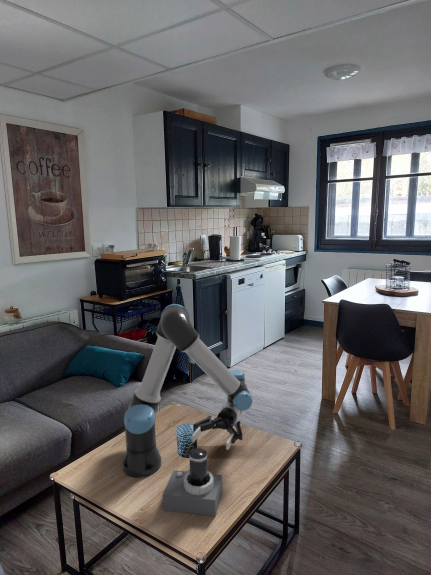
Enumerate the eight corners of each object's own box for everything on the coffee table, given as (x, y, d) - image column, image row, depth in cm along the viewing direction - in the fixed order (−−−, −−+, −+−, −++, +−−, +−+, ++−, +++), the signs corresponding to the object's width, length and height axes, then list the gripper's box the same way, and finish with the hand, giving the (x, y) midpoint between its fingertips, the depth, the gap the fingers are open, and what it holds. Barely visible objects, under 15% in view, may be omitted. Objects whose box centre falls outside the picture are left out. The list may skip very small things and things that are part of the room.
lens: (188, 489, 135) (187, 457, 132) (192, 478, 140) (191, 447, 138) (205, 491, 133) (205, 459, 131) (209, 480, 139) (208, 449, 137)
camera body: (163, 510, 134) (162, 487, 132) (174, 484, 146) (173, 464, 145) (215, 516, 130) (215, 493, 129) (222, 489, 143) (221, 468, 141)
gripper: (257, 429, 161) (242, 459, 141) (201, 418, 170) (179, 445, 150) (257, 412, 159) (242, 439, 140) (200, 402, 168) (178, 427, 149)
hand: (209, 442), depth 145 cm, fingers open, 13 cm apart
